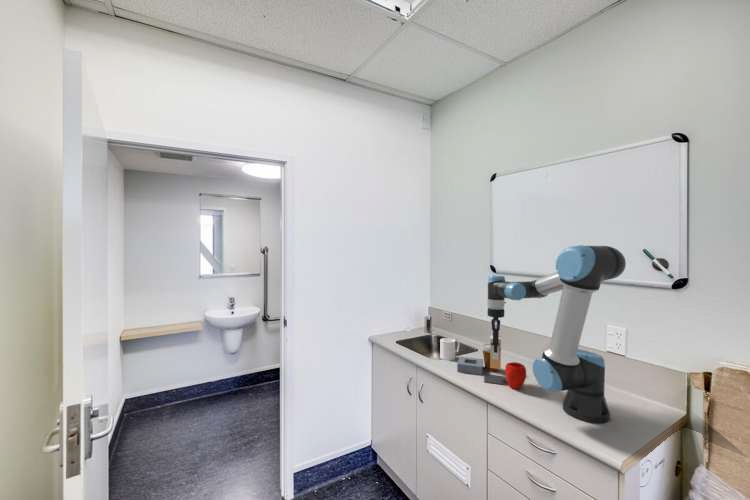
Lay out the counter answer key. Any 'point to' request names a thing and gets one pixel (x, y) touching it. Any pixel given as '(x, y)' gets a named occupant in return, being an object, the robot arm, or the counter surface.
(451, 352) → the cup
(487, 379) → the pad
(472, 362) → the gray square block
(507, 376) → the apple
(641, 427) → the counter surface
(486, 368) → the disposable coffee cup
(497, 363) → the tall drinking glass
